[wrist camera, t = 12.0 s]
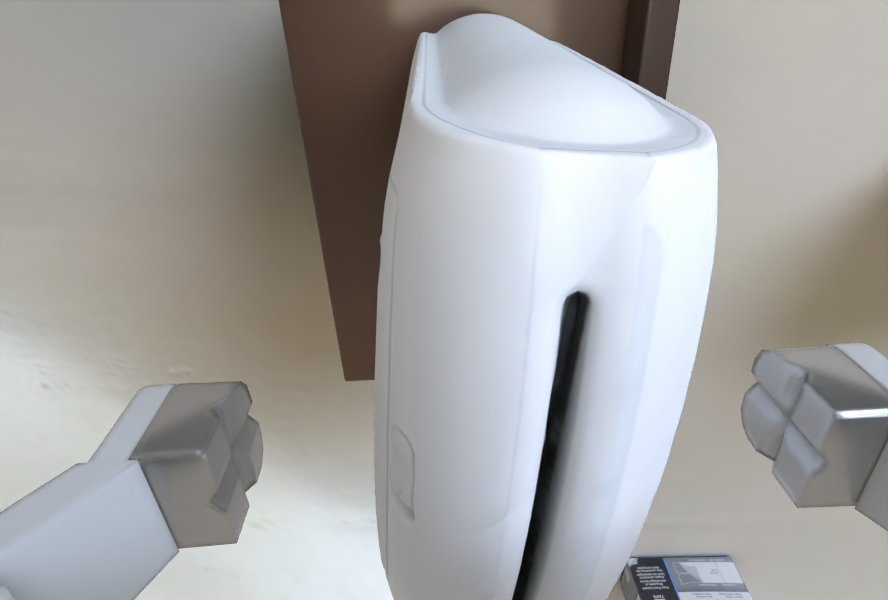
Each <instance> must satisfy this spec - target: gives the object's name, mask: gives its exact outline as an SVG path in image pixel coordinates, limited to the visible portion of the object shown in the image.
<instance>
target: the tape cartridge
mask: <svg viewBox="0 0 888 600" xmlns="http://www.w3.org/2000/svg"><path fill="white" fill-rule="evenodd" d="M621 587H622V590H623V593H624V596H625V600H753V599H752V597H751V595H750V593H749V592H748V590H747V588H746V586H745V584H744V582H743V580H742V578H741V576H740V574H739V572H738V570H737V568H736V567H735V565H734V563H733V561H732V559H731V558H730V557H680V558H629V559H628V561H627V563H626V565H625V567H624V570H623V575H622V580H621Z"/></svg>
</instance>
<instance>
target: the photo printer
mask: <svg viewBox="0 0 888 600" xmlns="http://www.w3.org/2000/svg"><path fill="white" fill-rule="evenodd" d="M717 186H718V163H717V143H716V140H715V137H714V134H713V132H712V130H711V129H710V128H709V127H708V126H707V125H706V124H705V123H704V122H703V121H701V120H699V119H698V118H696V117H694V116H693V115H691V114H689V113H688V112H686V111H684V110H682V109H680V108H678V107H676V106H674V105H673V104H671V103H669V102H667V101H666V100H664V99H663V98H661V97H659V96H656V95H654V94H653V93H651V92H650V91H648V90H646V89H644V88H643V87H641V86H639V85H637V84H635V83H633V82H631V81H629V80H627V79H625V78H623V77H622V76H620V75H618V74H616V73H614V72H613V71H611V70H609V69H608V68H606V67H604V66H602V65H600V64H598V63H596V62H594V61H592V60H591V59H589V58H587V57H585V56H583V55H581V54H580V53H578V52H576V51H574V50H572V49H570V48H568V47H566V46H563V45H562V44H560V43H558V42H555V41H550V40H548V39H546V38H545V37H543V36H541V35H539V34H538V33H536V32H534V31H532V30H531V29H529V28H527V27H525V26H523V25H521V24H520V23H518V22H516V21H514V20H512V19H509V18H507V17H504V16H500V15H495V14H482V13H480V14H472V15H468V16H464V17H461V18H459V19H456V20H454V21H452V22H450V23H449V24H447V25H446V26H444V27H443V28H442V29H440V30H439V31H438V32H437V33H434V34H432V33H427V32H423V33H421V34H420V36H419V38H418V41H417V45H416V49H415V52H414V56H413V60H412V66H411V71H410V77H409V83H408V89H407V94H406V100H405V105H404V110H403V116H402V121H401V127H400V132H399V136H398V140H397V145H396V149H395V153H394V158H393V162H392V167H391V171H390V176H389V181H388V187H387V193H386V199H385V206H384V216H383V227H382V234H381V238H380V245H381V260H380V270H379V280H378V296H377V324H376V355H375V410H374V468H375V496H376V515H377V526H378V537H379V547H380V553H381V560H382V564H383V567H384V569H385V573H386V577H387V580H388V583H389V586H390V590H391V593H392V596H393V598H394V600H606V599H607V597H608V596H609V594H610V592H611V591H612V589H613V587H614V585H615V583H616V582H617V580H618V578H619V576H620V575H621V573H622V571H623V569H624V567H625V565H626V563H627V561H628V559H629V557H630V555H631V553H632V550H633V548H634V546H635V544H636V541H637V539H638V537H639V534H640V532H641V529H642V527H643V524H644V522H645V519H646V517H647V514H648V512H649V509H650V506H651V503H652V500H653V498H654V496H655V493H656V491H657V488H658V486H659V483H660V480H661V477H662V474H663V471H664V468H665V465H666V463H667V460H668V456H669V453H670V449H671V446H672V442H673V438H674V435H675V432H676V429H677V425H678V422H679V419H680V415H681V412H682V408H683V405H684V401H685V397H686V393H687V388H688V384H689V380H690V377H691V373H692V369H693V364H694V360H695V356H696V352H697V347H698V342H699V337H700V333H701V328H702V323H703V318H704V313H705V307H706V302H707V296H708V290H709V284H710V277H711V271H712V267H713V259H714V249H715V240H716V228H717Z"/></svg>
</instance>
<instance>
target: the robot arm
mask: <svg viewBox="0 0 888 600" xmlns="http://www.w3.org/2000/svg"><path fill="white" fill-rule="evenodd" d="M752 373H753V375H754V376H755V378H756V380H757V381H758V382H756V383H755V384H754V385H753V386H752V387H751V388H750V389H749V390H748V391H747V392H745V394H744V399H743V403H742V407H741V415H742V424H743V428H744V430H745V433H746V435H747V438H748V440H749V441H750V442H751V444H752V445H753V447H754V448H755V450H756V451H757V452H759V453H761V454H763V455H764V456H766V457H768V458H769V459H771V460H773V461H774V463H773V469H772V474H773V475H774V476H775V478H776V479H777V481H778V482H779V483H780V485H781V486H782V488H783V489H784V490H785V492H786V493H787V494H788V496H789V497H790V499H791V500H792V501H793V503H794V504H795V505H796V507H797V508H806V507H834V506H856V507H855V509H856V510H858V511H859V512H861V513H862V514H863V515H865V516H866V517H868V518H869V519H871V520H872V521H874V522H875V523H876V524H878V525H879V526H881V527H882V528H884V529H885V530H887V531H888V359H887V358H885V357H884V356H883V355H882V354H880V353H879V352H878V351H877V350H875V349H874V348H873V347H872V346H869V345H866V344H863V343H860V342H855V343H843V344H832V345H826V346H819V347H804V348H789V349H773V350H762V351H761V352H760V353H759V354H758V356H757V357H756V358H755V361H754V364H753V367H752ZM251 404H252V399H251V396H250V393H249V390H248V387H247V385H245V384H244V383H242V382H241V381H240V382H214V383H189V384H178V385H175V384H170V385H151V386H146V387H143V388H141V389H139V390H138V391H137V393H136V394H135V396H134V397H133V398H132V400H131V401H130V403H129V404H128V406H127V407H126V408H125V410H124V411H123V413H122V414H121V416H120V417H119V419H118V420H117V421H116V423H115V424H114V426H113V427H112V429H111V430H110V432H109V433H108V434H107V436H106V437H105V439H104V440H103V442H102V443H101V444H100V446H99V447H98V449H97V450H96V452H95V453H94V455H93V456H92V457H91V459H90V460H89V462H88V463H78V464H75V465H74V466H72V467H71V468H69V469H68V470H66V471H64V472H63V473H61V474H60V475H58V476H57V477H55V478H53V479H52V480H50V481H49V482H47V483H46V484H44V485H42V486H41V487H39V488H38V489H36V490H35V491H33V492H31V493H30V494H28V495H27V496H25V497H24V498H22V499H20V500H19V501H17V502H16V503H14V504H13V505H11V506H9V507H8V508H6V509H5V510H3V511H2V512H0V600H134V599H135V598H136V597H137V596H138V595H139V593H140V592H141V591H142V590H143V589H144V588H145V587H146V586H147V585H148V584H149V583H150V582H151V581H152V580H153V579H154V578H155V577H156V576H157V574H158V573H159V572H160V571H161V570H162V569H163V568H164V567H165V566H166V565H167V564H168V563H169V562H170V561H171V560H172V559H173V558H174V557H175V555H176V554H177V553H178V552H179V550H178V549H179V548H190V547H201V546H212V545H223V544H234V543H237V541H238V538H239V535H240V532H241V529H242V526H243V523H244V520H245V517H246V514H247V511H248V508H249V503H248V500H247V497H246V494H245V492H246V491H247V490H248V489H250V488H251V487H252V486H253V485H254V484H255V483H256V482H257V480H258V477H259V474H260V470H261V467H262V456H263V442H262V434H261V430H260V427H259V423H258V422H257V421H255V420H254V419H253V418H252V417H250V416H249V415H248V411H249V409H250V406H251Z"/></svg>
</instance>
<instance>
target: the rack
mask: <svg viewBox="0 0 888 600" xmlns="http://www.w3.org/2000/svg"><path fill="white" fill-rule="evenodd" d="M679 4H680V0H279V6H280V11H281V17H282V23H283V29H284V34H285V40H286V46H287V52H288V57H289V63H290V69H291V74H292V80H293V86H294V92H295V97H296V103H297V109H298V115H299V120H300V126H301V132H302V138H303V143H304V149H305V155H306V161H307V166H308V172H309V178H310V184H311V189H312V195H313V201H314V207H315V212H316V218H317V224H318V229H319V235H320V241H321V247H322V252H323V258H324V264H325V270H326V275H327V281H328V287H329V293H330V298H331V304H332V310H333V316H334V321H335V327H336V333H337V339H338V344H339V350H340V356H341V362H342V367H343V373H344V379H345V381H359V380H375V355H376V324H377V296H378V280H379V270H380V260H381V245H380V238H381V234H382V227H383V216H384V206H385V199H386V193H387V187H388V181H389V176H390V171H391V167H392V162H393V158H394V153H395V149H396V145H397V140H398V136H399V132H400V127H401V121H402V116H403V110H404V105H405V100H406V94H407V89H408V83H409V77H410V71H411V66H412V60H413V56H414V52H415V49H416V45H417V41H418V38H419V36H420V34H421V33H423V32H427V33H432V34H434V33H437V32H438V31H439V30H440V29H442V28H443V27H444V26H446V25H447V24H449V23H450V22H452V21H454V20H456V19H459V18H461V17H464V16H468V15H472V14H480V13H482V14H495V15H500V16H504V17H507V18H509V19H512V20H514V21H516V22H518V23H520V24H521V25H523V26H525V27H527V28H529V29H531V30H532V31H534V32H536V33H538V34H539V35H541V36H543V37H545V38H546V39H548V40H550V41H555V42H558V43H560V44H562V45H563V46H566V47H568V48H570V49H572V50H574V51H576V52H578V53H580V54H581V55H583V56H585V57H587V58H589V59H591V60H592V61H594V62H596V63H598V64H600V65H602V66H604V67H606V68H608V69H609V70H611V71H613V72H614V73H616V74H618V75H620V76H622V77H623V78H625V79H627V80H629V81H631V82H633V83H635V84H637V85H639V86H641V87H643V88H644V89H646V90H648V91H650V92H651V93H653V94H654V95H656V96H659V97H661V98H663V99H664V100H665V99H666V92H667V85H668V79H669V72H670V65H671V58H672V51H673V45H674V38H675V31H676V24H677V18H678V11H679Z"/></svg>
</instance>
